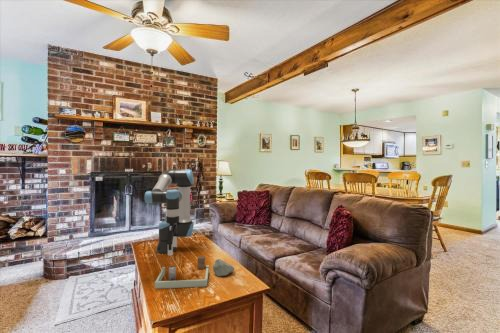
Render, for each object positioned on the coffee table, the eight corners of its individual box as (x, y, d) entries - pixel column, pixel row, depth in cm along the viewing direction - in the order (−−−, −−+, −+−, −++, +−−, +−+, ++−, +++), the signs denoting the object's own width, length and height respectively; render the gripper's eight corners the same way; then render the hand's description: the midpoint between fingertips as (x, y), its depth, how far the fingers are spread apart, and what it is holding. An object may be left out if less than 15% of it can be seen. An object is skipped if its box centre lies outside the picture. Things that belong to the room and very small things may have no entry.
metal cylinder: (169, 277, 151) (169, 266, 151) (176, 277, 151) (176, 265, 151) (168, 280, 147) (168, 268, 147) (175, 280, 147) (175, 268, 147)
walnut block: (198, 266, 168) (198, 255, 168) (204, 265, 168) (205, 255, 168) (197, 269, 163) (197, 258, 163) (204, 268, 164) (204, 258, 164)
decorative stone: (212, 278, 150) (222, 266, 148) (209, 265, 159) (218, 254, 158) (228, 284, 156) (238, 272, 155) (224, 271, 165) (233, 260, 164)
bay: (162, 273, 156) (162, 266, 155) (209, 272, 159) (209, 265, 159) (154, 288, 137) (154, 280, 137) (207, 286, 141) (207, 278, 141)
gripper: (170, 211, 161) (170, 243, 161) (161, 221, 136) (161, 259, 137) (182, 211, 161) (182, 243, 162) (175, 220, 137) (175, 258, 137)
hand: (172, 250), depth 149 cm, fingers open, 13 cm apart
